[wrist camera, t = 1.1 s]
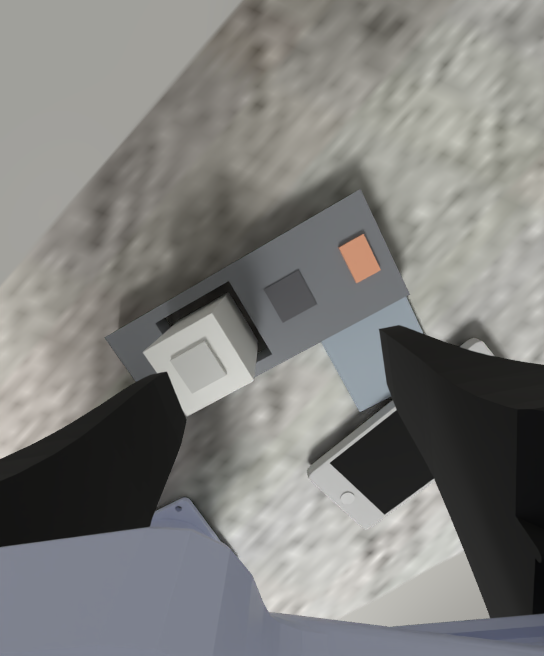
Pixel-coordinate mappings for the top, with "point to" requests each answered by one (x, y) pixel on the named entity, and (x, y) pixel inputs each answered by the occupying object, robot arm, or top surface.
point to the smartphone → (376, 465)
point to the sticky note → (367, 353)
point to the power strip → (291, 287)
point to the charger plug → (206, 354)
